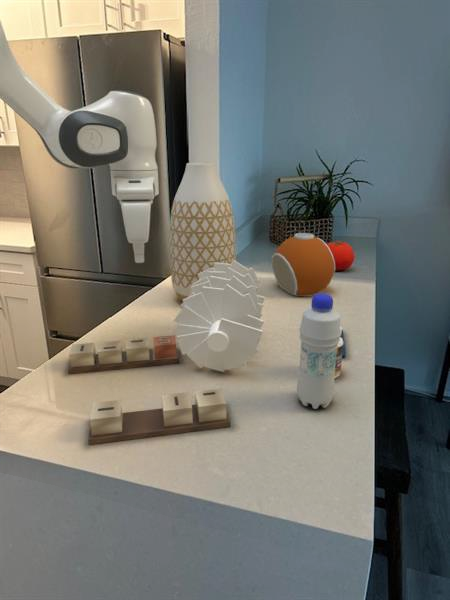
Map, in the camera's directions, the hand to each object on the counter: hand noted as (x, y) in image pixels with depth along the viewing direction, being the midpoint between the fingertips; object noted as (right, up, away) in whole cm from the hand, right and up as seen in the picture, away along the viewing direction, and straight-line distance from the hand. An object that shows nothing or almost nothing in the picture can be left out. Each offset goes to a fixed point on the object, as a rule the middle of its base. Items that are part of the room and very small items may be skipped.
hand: (139, 256), depth 87 cm
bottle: (+33, -27, -11) cm, 44 cm away
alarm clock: (+41, -6, +47) cm, 63 cm away
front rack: (+7, -29, -17) cm, 34 cm away
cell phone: (+41, -19, +11) cm, 46 cm away
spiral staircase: (+17, -20, +8) cm, 27 cm away
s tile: (+5, -20, +4) cm, 21 cm away
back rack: (-4, -22, +3) cm, 22 cm away
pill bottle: (+37, -24, -2) cm, 44 cm away
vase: (+11, -9, +40) cm, 42 cm away
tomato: (+57, +2, +68) cm, 89 cm away
